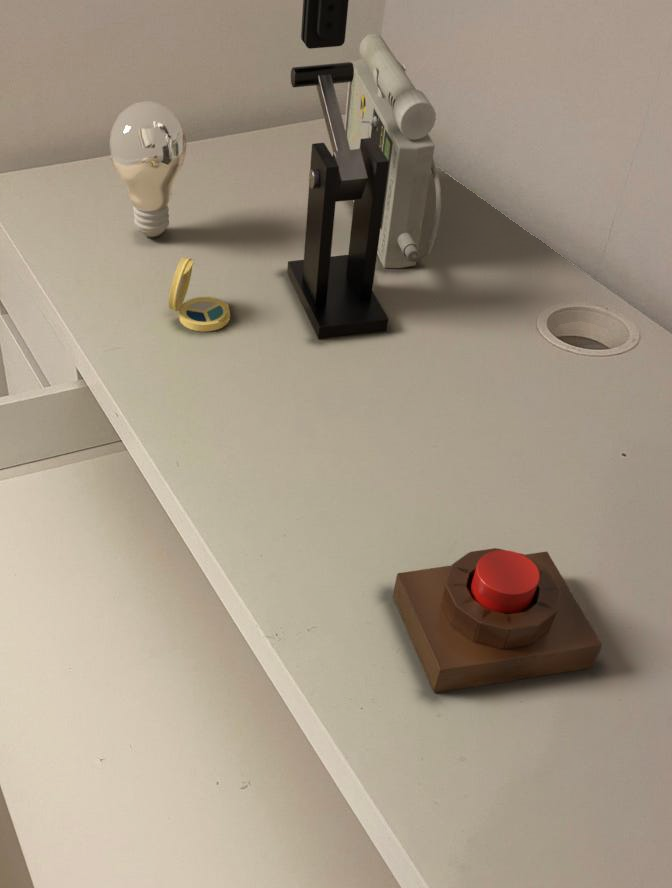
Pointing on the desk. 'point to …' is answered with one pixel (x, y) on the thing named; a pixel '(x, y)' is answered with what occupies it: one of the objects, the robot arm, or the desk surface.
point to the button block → (492, 627)
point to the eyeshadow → (196, 303)
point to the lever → (336, 124)
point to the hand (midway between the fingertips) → (322, 43)
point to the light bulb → (148, 161)
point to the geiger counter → (395, 147)
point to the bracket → (347, 276)
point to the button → (505, 581)
